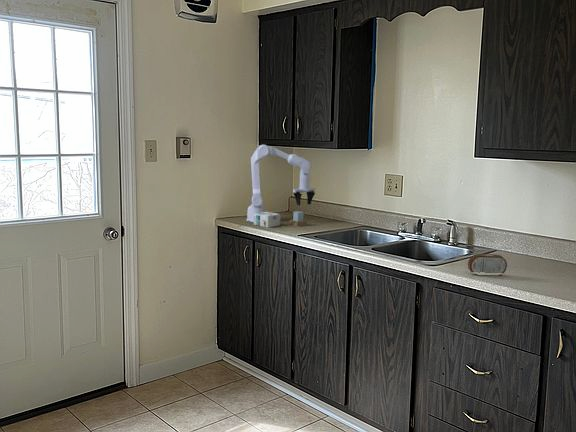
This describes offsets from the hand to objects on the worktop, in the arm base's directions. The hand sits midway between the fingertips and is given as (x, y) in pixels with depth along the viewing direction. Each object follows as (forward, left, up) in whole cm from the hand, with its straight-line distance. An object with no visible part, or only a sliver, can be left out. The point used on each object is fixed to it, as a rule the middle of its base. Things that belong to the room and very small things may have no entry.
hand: (303, 204), depth 347 cm
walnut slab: (+6, -8, -11) cm, 15 cm away
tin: (+132, -8, -11) cm, 133 cm away
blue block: (+6, -8, -8) cm, 13 cm away
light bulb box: (+5, -23, -7) cm, 25 cm away
